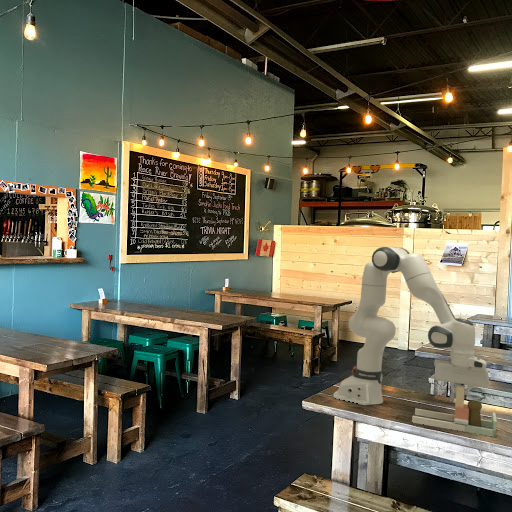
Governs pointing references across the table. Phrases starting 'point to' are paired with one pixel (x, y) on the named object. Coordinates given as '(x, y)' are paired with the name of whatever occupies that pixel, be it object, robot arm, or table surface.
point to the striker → (461, 407)
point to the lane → (454, 426)
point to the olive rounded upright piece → (474, 413)
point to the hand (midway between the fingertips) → (460, 394)
